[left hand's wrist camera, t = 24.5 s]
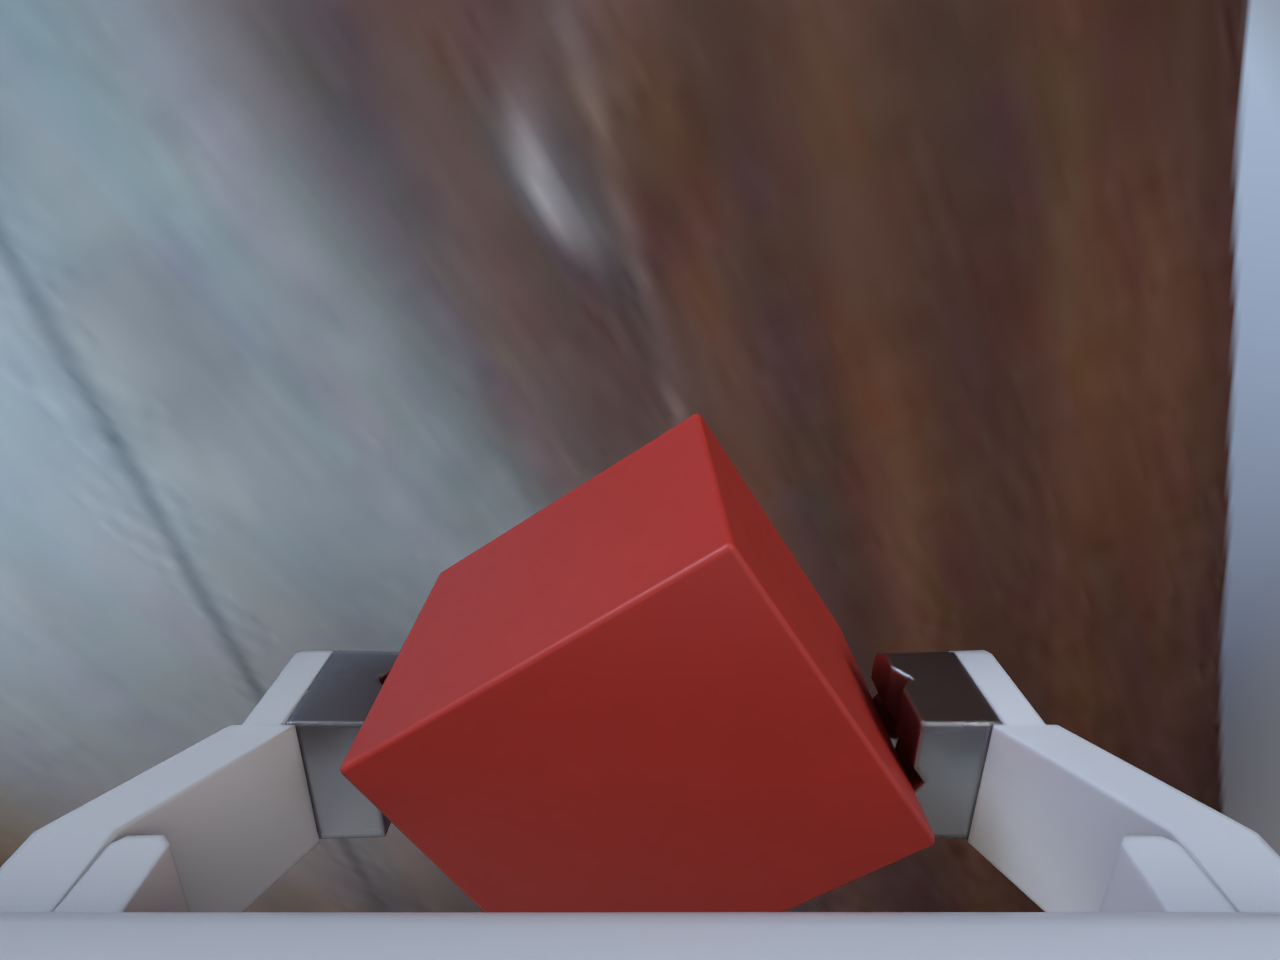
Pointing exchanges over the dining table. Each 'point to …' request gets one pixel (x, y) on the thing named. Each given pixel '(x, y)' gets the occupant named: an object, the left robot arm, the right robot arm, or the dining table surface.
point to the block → (637, 710)
